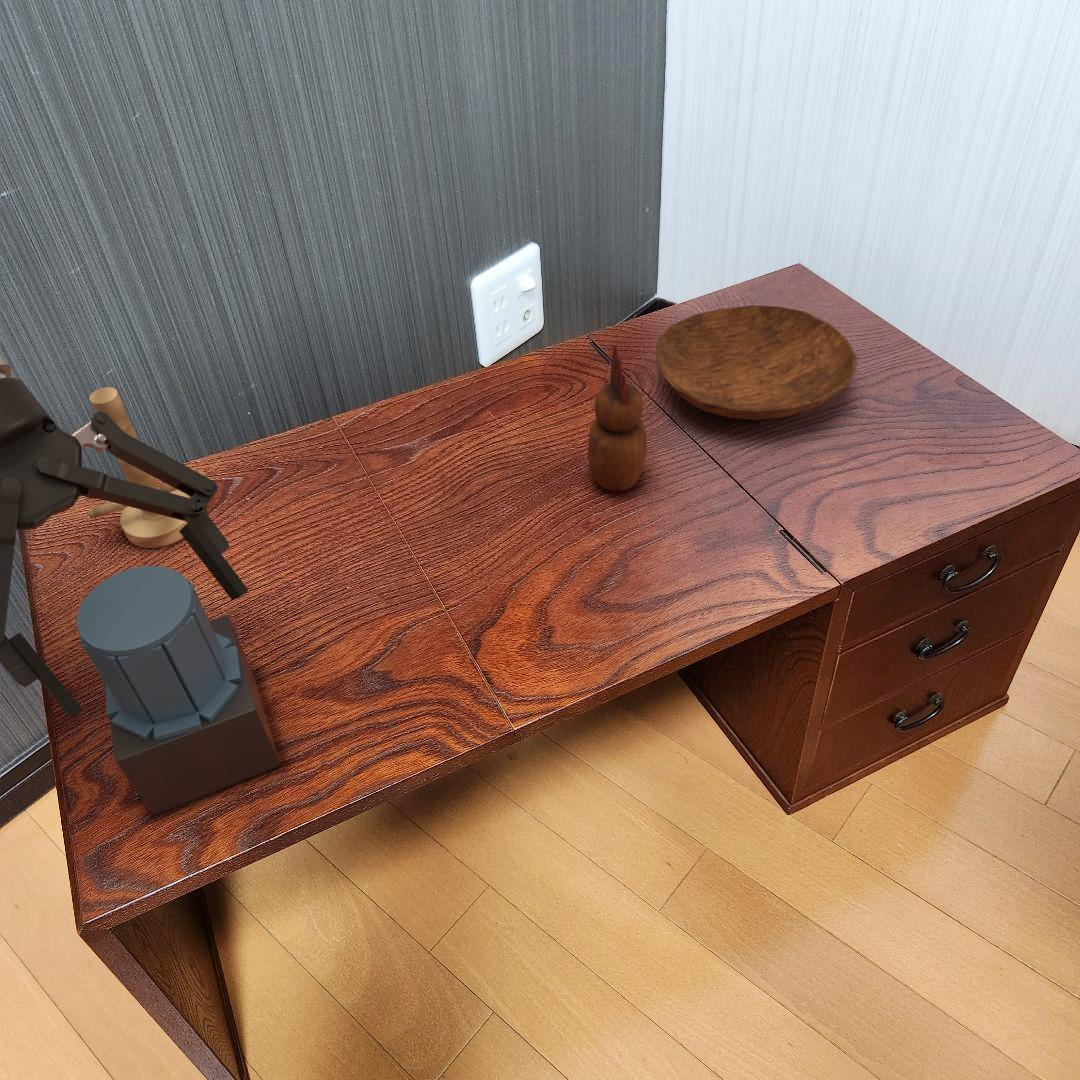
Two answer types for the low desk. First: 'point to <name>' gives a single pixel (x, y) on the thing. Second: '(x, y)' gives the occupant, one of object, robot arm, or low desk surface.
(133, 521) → the hat stand
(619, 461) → the wooden figurine
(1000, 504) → the low desk surface
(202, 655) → the hat
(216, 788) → the riser
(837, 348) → the bowl
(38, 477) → the robot arm
